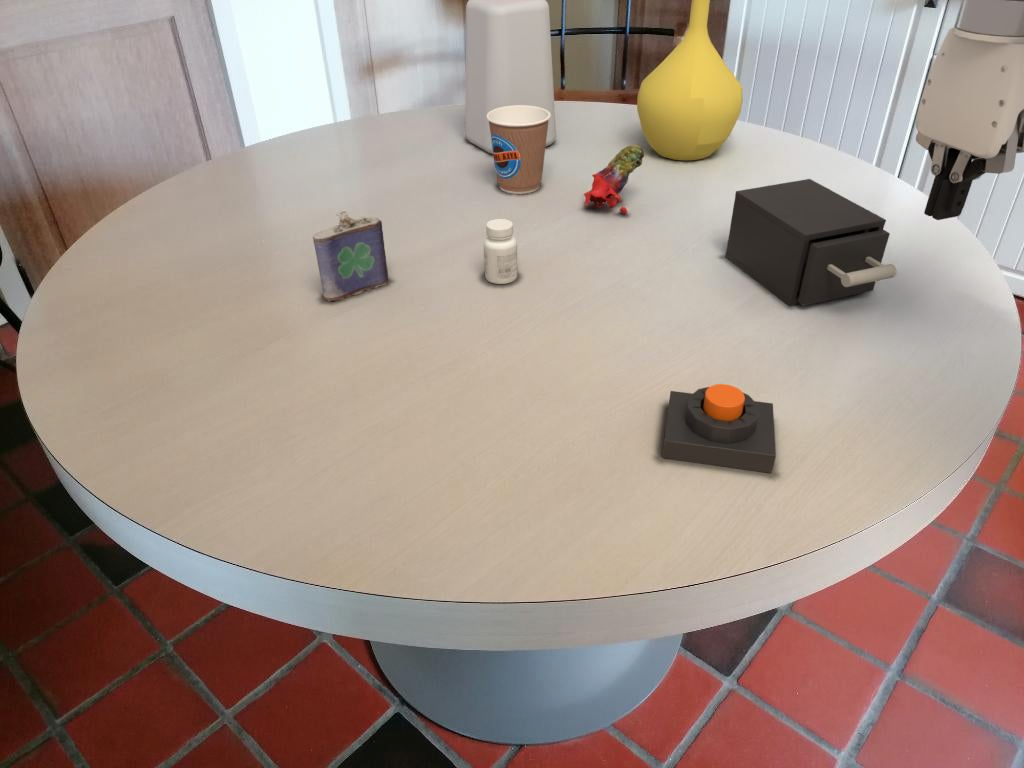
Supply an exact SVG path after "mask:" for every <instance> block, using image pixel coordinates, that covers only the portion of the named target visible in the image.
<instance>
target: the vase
mask: <svg viewBox="0 0 1024 768" xmlns="http://www.w3.org/2000/svg"><path fill="white" fill-rule="evenodd" d="M710 2H711V0H691V3H690V12H689V13H690V14H689V22H688V27H687V30H686V32H685V34H684V36H683V38H682V39H681V41H680V42H679V43H678V45H676V46H675V48H674V49H673V50H671V52H670V53H669V54H668V55H667V56H666V57H665V58H664V59H663V60H662V62H661V63H659V65H658V66H656V67H655V68H654V69H653V70H652V71H651V72H650V73H649V74H648V75H647V76H646V77H645V78H644V79H643V80H642V81H641V84H640V87H639V90H638V93H637V98H636V99H637V101H636V110H637V114H638V119H639V123H640V127H641V131H642V133H643V136H644V137H645V140H646V141H647V143H648V145H649V146H650V147H651V149H653V150H654V151H655V152H656V154H658V155H660V156H661V157H663V158H666V159H669V160H673V161H690V162H691V161H699V160H702V159H706V158H708V157H710V156H711V155H712V154H714V153H715V152H716V151H718V150H719V149H720V148H721V147H722V146H723V144H724V143H725V142H726V141H727V140H728V138H729V137H730V136H731V133H732V131H733V130H734V127H735V126H736V124H737V122H738V120H739V117H740V116H741V112H742V107H743V106H742V105H743V101H744V100H743V99H744V97H743V86H742V83H741V82H740V81H739V80H738V78H737V77H736V76H735V75H734V73H733V71H731V69H730V68H729V67H728V65H727V64H726V63H725V61H724V60H723V59H722V57H721V55H720V54H719V52H718V51H717V49H716V47H715V46H714V45H713V43H712V41H711V38H710V35H709V30H708V22H709V21H708V20H709V19H708V18H709V11H710Z"/></svg>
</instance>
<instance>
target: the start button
mask: <svg viewBox="0 0 1024 768" xmlns="http://www.w3.org/2000/svg"><path fill="white" fill-rule="evenodd" d="M708 387H709V388H708V389H707V390H706V393H705V399H704V405H703V409H704V411H705V413H706V414H707V415H709V416H711V417H713V418H715V419H718V420H725V421H731V420H735V419H738V418H739V417H740V416H741V414H742V411H743V406H744V401H745V396H744V394H743V393H744V392H743V391H742V390H741V389H740V388H738V387H736V386H734V385H730V384H726V383H718V384H713V385H711V386H708Z"/></svg>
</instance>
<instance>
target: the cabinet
mask: <svg viewBox="0 0 1024 768" xmlns="http://www.w3.org/2000/svg"><path fill="white" fill-rule="evenodd" d="M886 223H887V219H885V218H884V217H882V216H881V215H878V214H876V213H875V212H872V211H870V210H868V209H866V208H865V207H863V206H861V205H860V204H857V203H855V202H853V201H852V200H850V199H848V198H847V197H844V196H842V195H841V194H839V193H837V192H835V191H834V190H831V189H829V188H828V187H826V186H824V185H822V184H820V183H819V182H816V181H815V180H813V179H811V178H806V179H799V180H794V181H788V182H782V183H776V184H770V185H765V186H759V187H753V188H745V189H740V190H736V191H735V194H734V201H733V207H732V215H731V220H730V225H729V232H728V239H727V244H726V245H727V246H726V249H725V250H726V252H725V258H726V259H728V260H729V261H730V262H731V263H732V264H734V265H735V266H737V268H739V269H740V270H742V271H743V272H744V273H745V274H746V275H748V276H750V278H752V279H753V280H754V281H756V282H757V283H758V284H760V285H761V286H762V287H764V288H765V289H766V290H768V291H769V292H770V293H771V294H773V295H774V296H775V297H777V298H778V299H779V300H781V302H783V303H785V304H786V305H787V306H788V307H793V306H797V305H802V304H801V303H800V302H798V298H799V294H800V292H799V293H797V292H798V287H799V283H800V279H801V274H802V270H803V266H804V261H805V257H806V253H807V248H808V244H809V240H814V239H819V238H824V237H829V236H834V235H839V234H845V233H850V232H855V231H860V230H865V229H870V231H869V232H873V231H878V230H885V229H884V228H885V225H886Z"/></svg>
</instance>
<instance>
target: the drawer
mask: <svg viewBox="0 0 1024 768" xmlns="http://www.w3.org/2000/svg"><path fill="white" fill-rule="evenodd" d="M869 231H870V229H865V230H860V231H855V232H850V233H845V234H839V235H834V236H829V237H824V238H819V239H814V240H809V244H808V248H807V253H806V257H805V261H804V266H803V270H802V274H801V279H800V283H799V287H798V292H797V293H799V292H800V294H799V298H798V302H800V303H801V304H800V305H802V306H808V305H813V304H817V303H821V302H822V303H823V302H826V301H830V300H834V299H840V298H844V297H849V296H853V295H857V294H863V293H867V292H872V291H874V288H875V286H876V282H878V281H883V280H887V279H891V278H894V277H896V275H897V268H896V265H894V264H892V263H889V264H883V263H882V261H883V259H884V255H885V252H886V248H887V245H888V242H889V237H890V235H891V234H890V232H889V231H887V230H885V229H883V230H878V231H873V232H869Z"/></svg>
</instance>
